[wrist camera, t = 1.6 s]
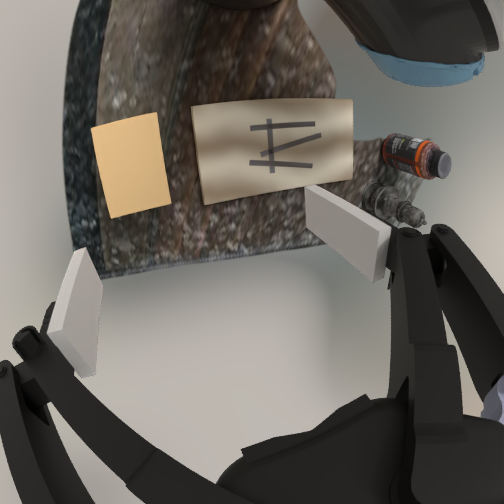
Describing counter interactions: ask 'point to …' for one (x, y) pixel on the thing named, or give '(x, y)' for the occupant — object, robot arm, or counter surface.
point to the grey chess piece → (391, 205)
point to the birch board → (271, 145)
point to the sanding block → (131, 164)
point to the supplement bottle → (416, 156)
